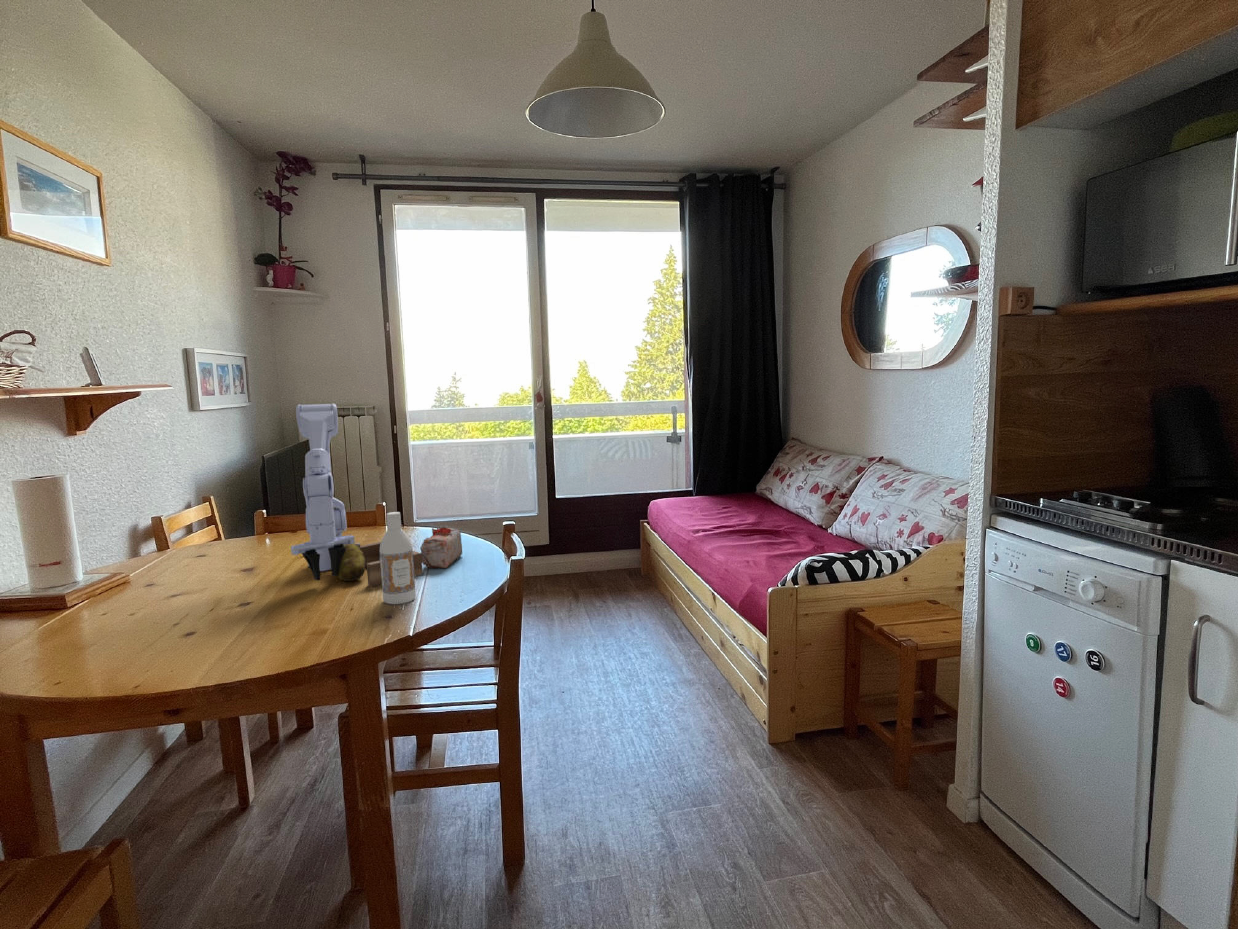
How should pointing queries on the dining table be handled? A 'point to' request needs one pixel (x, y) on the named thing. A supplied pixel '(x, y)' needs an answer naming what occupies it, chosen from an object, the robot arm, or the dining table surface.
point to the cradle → (374, 565)
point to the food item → (441, 548)
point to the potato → (352, 563)
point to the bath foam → (396, 563)
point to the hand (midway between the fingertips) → (326, 577)
